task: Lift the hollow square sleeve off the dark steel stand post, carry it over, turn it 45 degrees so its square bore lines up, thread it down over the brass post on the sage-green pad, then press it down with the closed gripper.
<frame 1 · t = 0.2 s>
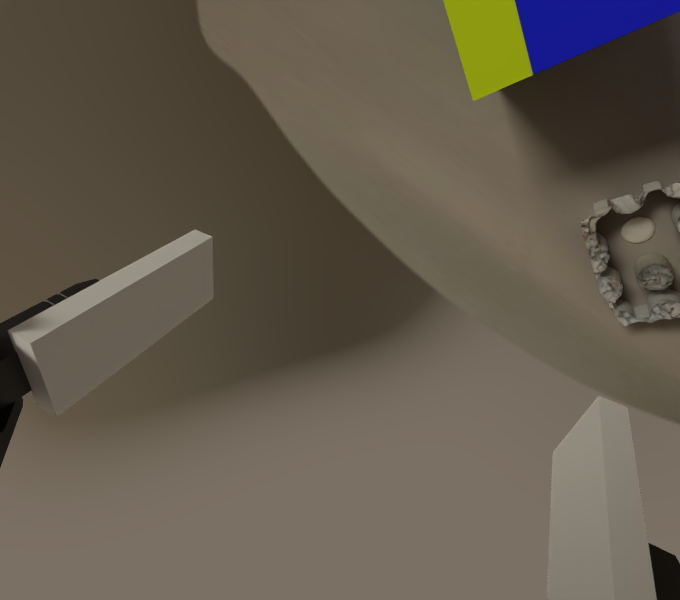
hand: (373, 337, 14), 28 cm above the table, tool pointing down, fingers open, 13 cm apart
grey piece: (646, 245, 34), on the table
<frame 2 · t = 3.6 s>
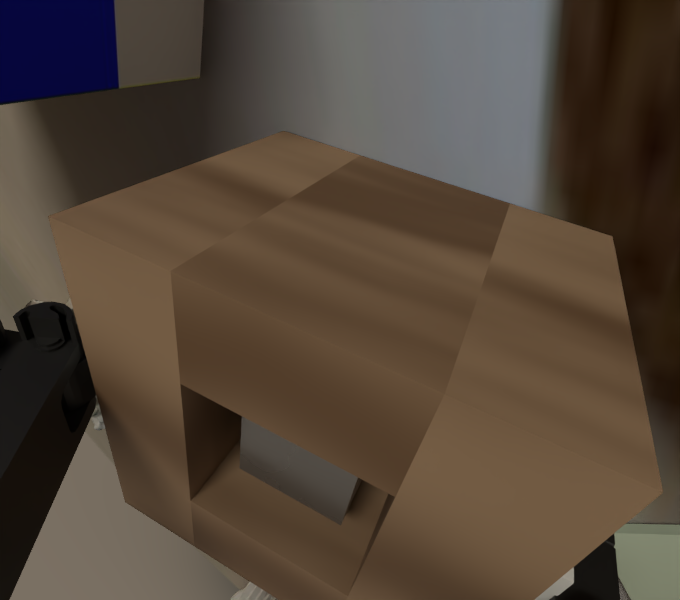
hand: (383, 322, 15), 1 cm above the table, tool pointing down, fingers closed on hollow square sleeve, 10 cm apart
hollow square sleeve: (390, 310, 15), on the table, touching gripper
stand post: (390, 310, 15), on the table
shell sculpture: (302, 563, 30), on the table
grey piece: (160, 358, 24), on the table
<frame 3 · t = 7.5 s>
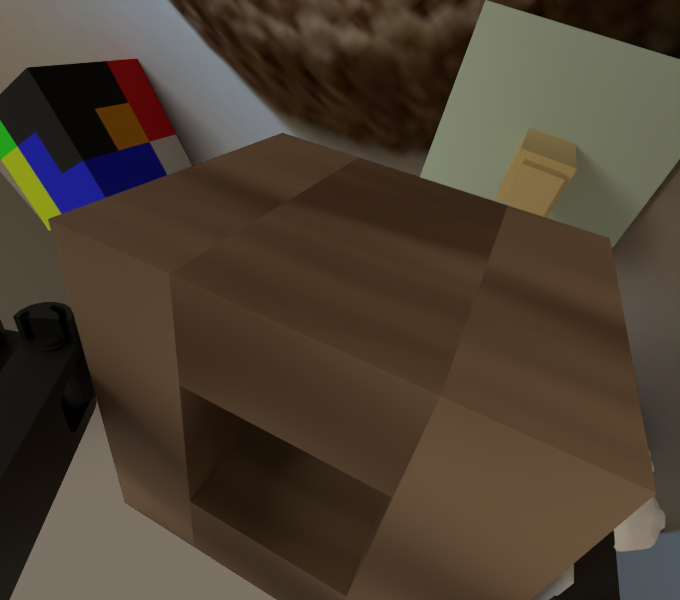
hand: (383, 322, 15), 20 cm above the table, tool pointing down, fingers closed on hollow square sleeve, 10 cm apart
square base plate: (540, 156, 28), on the table
hollow square sleeve: (389, 311, 15), point 19 cm above the table, touching gripper
white animal figurine: (601, 421, 36), on the table
puzzle toy: (137, 134, 42), on the table
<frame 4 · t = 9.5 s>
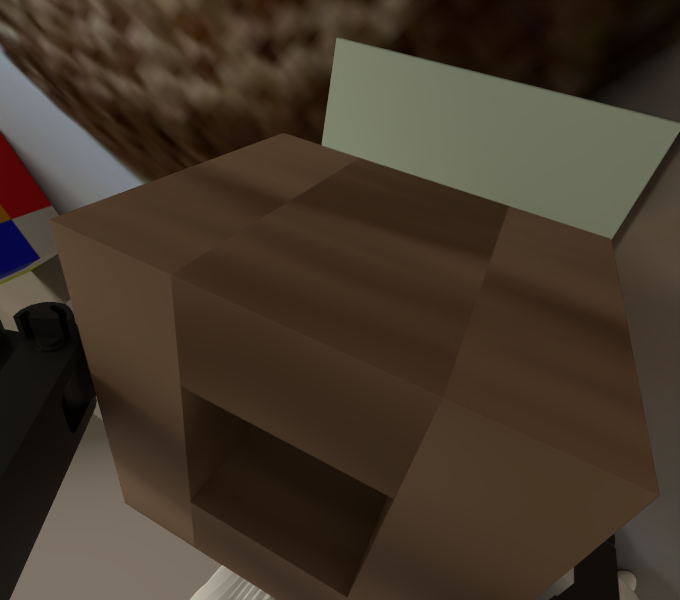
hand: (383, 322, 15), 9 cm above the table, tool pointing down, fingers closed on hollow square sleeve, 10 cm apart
square base plate: (441, 228, 21), on the table
hollow square sleeve: (390, 312, 15), point 8 cm above the table, touching gripper
white animal figurine: (571, 535, 29), on the table
puzzle toy: (18, 205, 37), on the table
shell sculpture: (328, 485, 38), on the table
when the fingers open (3 cm above the table, at t = 11.3 s): hollow square sleeve drops 1 cm, resting on square base plate.
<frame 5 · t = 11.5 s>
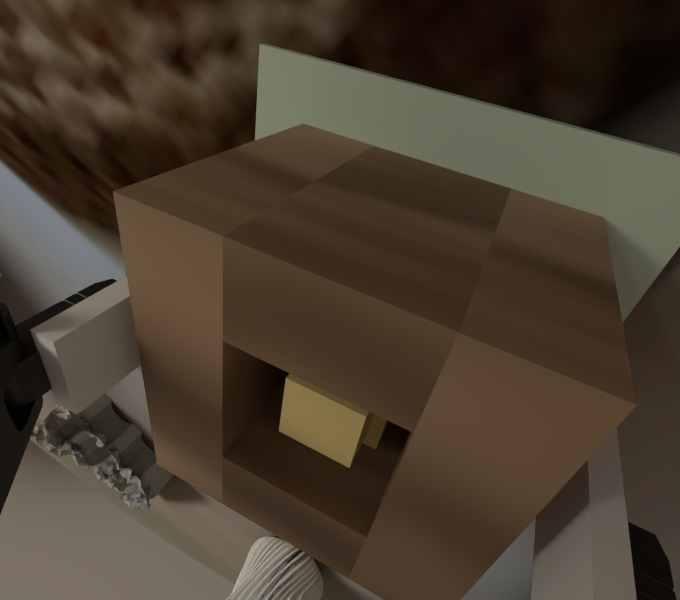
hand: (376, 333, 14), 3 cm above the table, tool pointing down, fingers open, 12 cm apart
square base plate: (406, 286, 17), on the table
hollow square sleeve: (400, 291, 17), resting on square base plate
shell sculpture: (294, 551, 33), on the table
grey piece: (127, 432, 36), on the table
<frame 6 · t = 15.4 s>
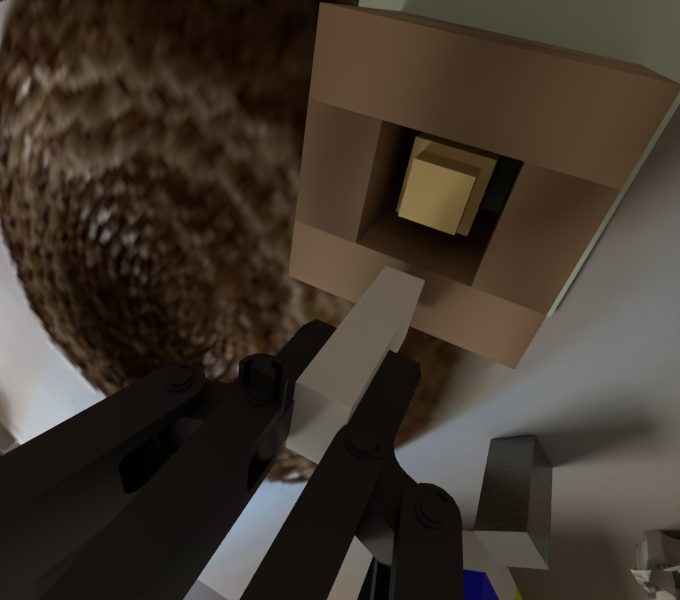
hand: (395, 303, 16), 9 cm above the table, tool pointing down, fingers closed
square base plate: (471, 150, 21), on the table
hollow square sleeve: (470, 154, 21), resting on square base plate
puzzle toy: (454, 561, 39), on the table
stand post: (521, 453, 29), on the table
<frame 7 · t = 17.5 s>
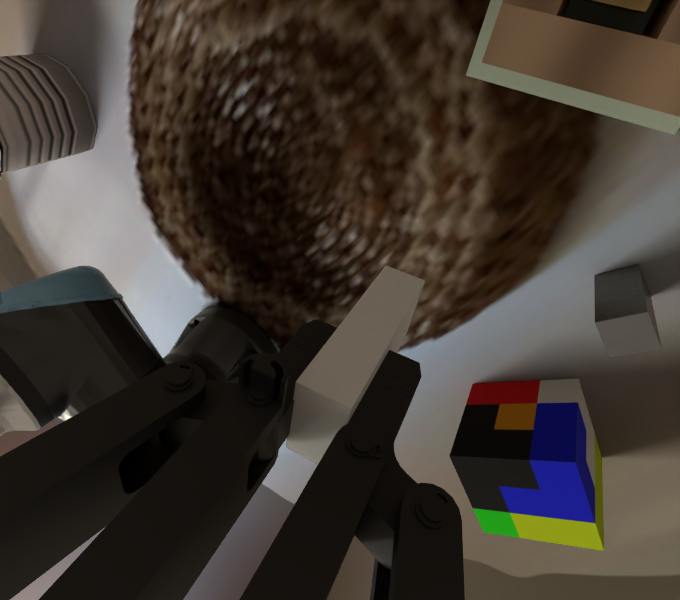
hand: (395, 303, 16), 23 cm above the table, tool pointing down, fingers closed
can: (64, 106, 52), on the table
puzzle toy: (535, 417, 44), on the table
stand post: (622, 286, 33), on the table
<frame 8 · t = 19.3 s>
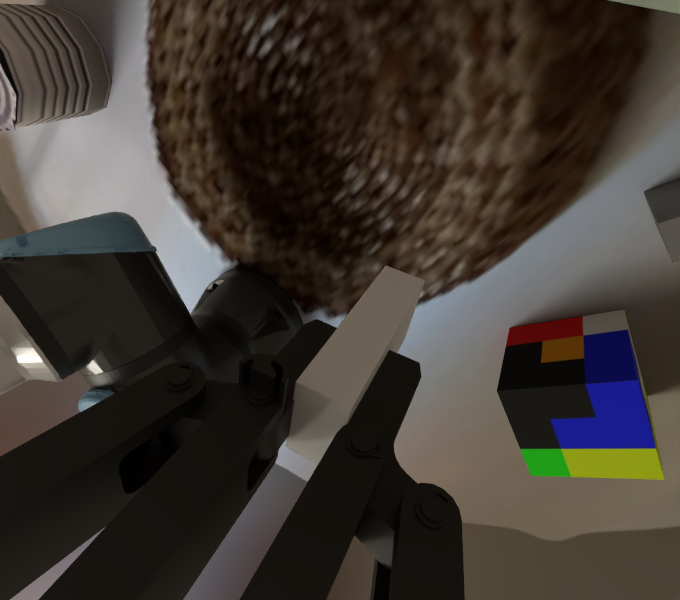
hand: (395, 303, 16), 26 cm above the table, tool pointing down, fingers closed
can: (76, 63, 51), on the table
puzzle toy: (576, 359, 43), on the table
stand post: (673, 200, 33), on the table
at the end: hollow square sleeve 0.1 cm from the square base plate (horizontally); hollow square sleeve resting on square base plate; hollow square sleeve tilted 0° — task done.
